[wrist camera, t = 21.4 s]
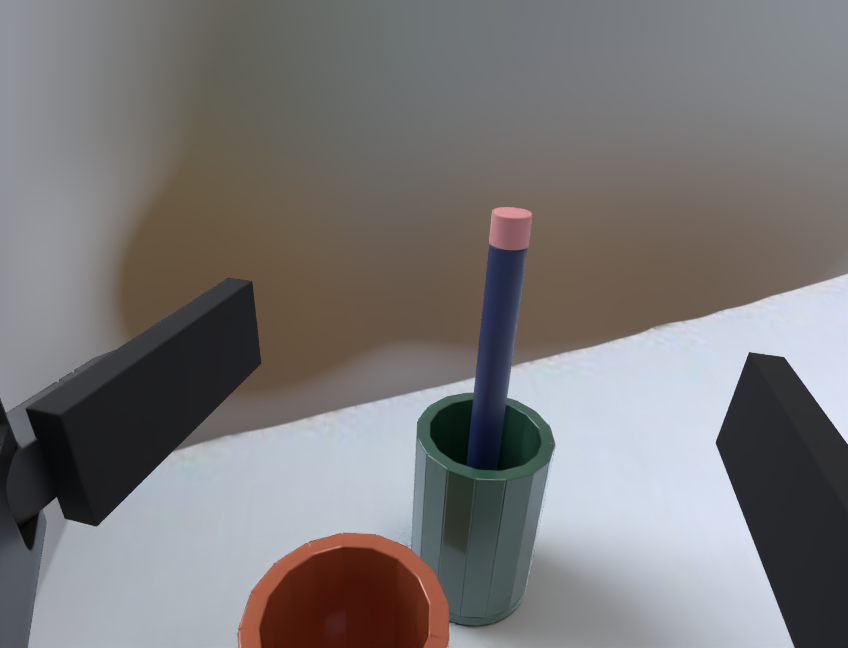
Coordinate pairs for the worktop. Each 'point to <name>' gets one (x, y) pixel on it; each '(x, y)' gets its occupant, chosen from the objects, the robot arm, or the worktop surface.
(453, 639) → the worktop surface
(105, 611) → the worktop surface
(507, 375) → the pencil
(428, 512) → the green cup
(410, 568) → the terracotta cup
